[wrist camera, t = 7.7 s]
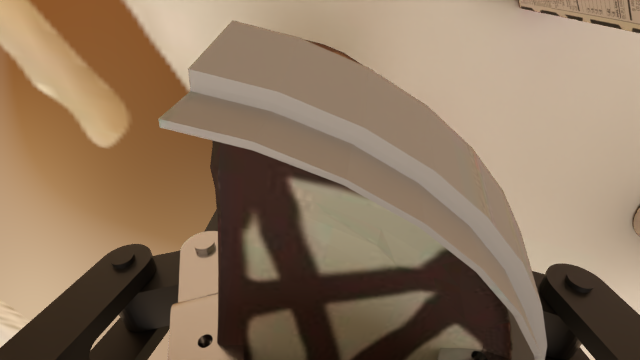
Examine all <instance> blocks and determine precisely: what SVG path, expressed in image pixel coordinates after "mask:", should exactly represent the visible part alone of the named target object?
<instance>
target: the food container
mask: <svg viewBox="0 0 640 360" xmlns="http://www.w3.org/2000/svg"><path fill="white" fill-rule="evenodd" d="M188 71H189V81H190V90H191V91H190V92H189V93H188V94H187V95H186V96H184V97H183V98H182V99H181V100H180V101H179V102H177V103H176V104H175V105H174V106H173V107H172V108H171V109H169V110H168V111H167V112H166V113H165V114H164V115H163V116H161V117H160V118H159V124H160V127H161V128H165V129H169V130H173V131H177V132H181V133H185V134H189V135H193V136H197V137H201V138H205V139H209V140H213V148H212V156H211V165H210V167H211V172H212V177H213V181H214V185H215V191H216V204H217V216H218V332H217V344H220V345H243V350H244V355H245V359H246V360H437V357H438V354H439V351H440V348H468V349H480V350H485V351H488V352H491V353H494V354H497V355H500V356H503V357H506V358H509V359H512V360H545V356H546V350H547V340H546V332H545V325H544V317H543V309H542V305H541V301H540V298H539V294H538V291H537V287H536V284H535V280H534V277H533V273H532V270H531V266H530V263H529V259H528V256H527V252H526V249H525V245H524V242H523V238H522V235H521V232H520V229H519V227H518V225H517V222H516V220H515V218H514V215H513V213H512V211H511V208H510V206H509V204H508V201H507V199H506V197H505V194H504V192H503V190H502V189H501V187H500V186H499V185H498V183H497V182H496V180H495V179H494V178H493V176H492V175H491V174H490V172H489V171H488V169H487V168H486V167H485V165H484V164H483V162H482V161H481V160H480V158H479V157H478V155H477V154H476V153H475V151H474V150H473V149H472V147H471V146H470V145H468V144H467V143H466V142H465V141H464V140H463V139H462V138H461V137H460V136H459V135H458V134H457V133H456V132H455V131H453V130H452V129H451V128H450V127H449V126H448V125H447V124H446V123H445V122H444V121H443V120H442V119H441V118H440V117H439V116H437V115H436V114H435V113H434V112H433V111H432V110H431V109H430V108H429V107H428V106H427V105H425V104H424V103H422V102H420V101H419V100H417V99H416V98H414V97H413V96H411V95H410V94H408V93H407V92H405V91H404V90H402V89H400V88H399V87H397V86H396V85H394V84H393V83H391V82H390V81H388V80H387V79H385V78H384V77H382V76H380V75H379V74H377V73H376V72H374V71H373V70H371V69H370V68H368V67H365V66H363V65H362V64H360V63H359V62H357V61H356V60H354V59H352V58H351V57H349V56H348V55H346V54H344V53H342V52H340V51H338V50H335V49H333V48H331V47H328V46H326V45H323V44H319V43H315V42H311V41H307V40H303V39H301V38H298V37H294V36H290V35H287V34H283V33H279V32H275V31H271V30H267V29H263V28H259V27H256V26H252V25H248V24H244V23H240V22H236V21H232V22H231V23H230V24H229V25H228V26H227V27H226V28H225V29H224V31H223V32H222V33H221V34H220V35H219V36H218V37H217V38H216V39H215V40H214V41H213V43H212V44H211V45H210V46H209V47H208V48H207V49H206V50H205V51H204V52H203V53H202V55H201V56H200V57H199V58H198V59H197V60H196V61H195V62H194V63H193V64H192V65H191V67H190V68H189V69H188Z"/></svg>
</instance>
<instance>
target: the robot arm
mask: <svg viewBox="0 0 640 360" xmlns="http://www.w3.org/2000/svg"><path fill="white" fill-rule="evenodd" d="M633 225H634V229H635V231H636V233H637V234H638V235H639V236H640V208H639V209H638V211H637V213H636V215H635V217H634V222H633ZM532 273H533V277H534V280H535V284H536V287H537V291H538V294H539V298H540V301H541V305H542V309H543V317H544V325H545V332H546V340H547V350H546V356H545V360H590V359H589V358H588V357H587V355H586V354H585V353H584V352H583V351H582V349H581V348H580V345H581V344H583V345H584V346H585V348H586V349H587V350H588V351H589V352H590V354H591V355H592V356H593V357H594V358H595V360H640V315H639V314H638V313H637V312H636V311H635V310H633V309H632V308H631V307H630V306H629V305H628V304H627V303H626V302H625V301H624V300H623V299H622V298H620V297H619V296H618V295H617V294H616V293H615V292H614V291H613V290H612V289H611V288H610V287H609V286H608V285H606V284H605V283H604V282H603V281H602V280H601V279H600V278H598V277H597V276H596V275H594V274H593V273H591V272H589V271H587V270H585V269H583V268H580V267H577V266H574V265H570V264H554V265H552V266H550V267H549V268H548V270H547V271H546V273H545V274H541V273H537V272H534V271H532ZM118 315H119V316H120V318H119V320H118V321H117V322H116V323H115V324H114V325H113V326H112V328H111V329H110V330H109V331H108V332H107V333H106V334H105V335H104V336H103V338H102V339H101V340H100V341H99V342H98V343H97V344H96V345H95V347H94V348H93V349H92V350H91V351H90V349H91V347H92V345H93V343H94V342H95V340H96V339H97V338H98V337H99V336H100V334H101V333H102V332H103V331H104V330H105V329H106V328H107V327H108V326H109V325H110V323H111V322H112V321H113V320H114V319H115V318H116V317H117V316H118ZM169 329H170V330H169ZM168 330H169V347H168V360H246V359H245V355H244V350H243V345H220V344H217V332H218V216H217V210H216V212H215V213H214V215H213V217H212V219H211V221H210V222H209V224H208V226H207V228H206V230H205V231H204V232H202V233H198V234H196V235H194V236H192V237H191V238H189V239H188V240H187V241H186V242H185V243H184V244H183V245H182V247H181V250H180V251H176V252H171V253H166V254H161V255H156V256H152V253H151V251H150V249H149V248H148V247H146V246H144V245H141V244H131V245H126V246H122V247H120V248H117V249H115V250H113V251H111V252H110V253H108V254H107V255H106V256H104V257H103V258H102V259H101V260H100V261H99V262H97V263H96V264H95V265H94V266H93V267H92V268H91V269H90V270H88V271H87V272H86V273H85V274H84V275H83V276H82V277H80V278H79V279H78V280H77V281H76V282H75V283H74V284H73V285H71V286H70V287H69V288H68V289H67V290H66V291H64V293H62V294H61V295H60V296H59V297H58V298H57V299H55V300H54V301H53V302H52V303H51V304H50V305H49V306H48V307H46V308H45V309H44V310H43V311H42V312H41V313H39V314H38V315H37V316H36V317H35V318H34V319H33V320H32V321H30V322H29V323H28V324H27V325H26V326H25V327H24V328H22V329H21V330H20V331H19V332H18V333H17V334H16V335H14V336H13V337H12V338H11V339H10V340H9V341H8V342H7V343H5V344H4V345H3V346H2V347H1V348H0V360H147V359H148V358H149V357H150V355H151V354H152V353H153V351H154V350H155V348H156V347H157V346H158V344H159V343H160V341H161V340H162V339H163V337H164V336H165V335H166V333H167V332H168ZM437 360H512V359H509V358H506V357H503V356H500V355H497V354H494V353H491V352H488V351H485V350H480V349H468V348H440V351H439V354H438V357H437Z"/></svg>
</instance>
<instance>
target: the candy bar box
mask: <svg viewBox="0 0 640 360" xmlns="http://www.w3.org/2000/svg"><path fill="white" fill-rule="evenodd" d="M519 4H520V8H522V9H527V10H532V11H536V12H541V13H546V14H551V15H556V16H561V17H565V18H570V19H576V20H578V21H584V22H589V23H593V24H599V25H603V26H608V27H614V28H618V29H623V30H627V31H632V32H636V33H640V0H519Z"/></svg>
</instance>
